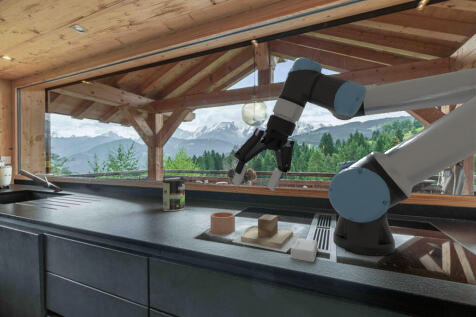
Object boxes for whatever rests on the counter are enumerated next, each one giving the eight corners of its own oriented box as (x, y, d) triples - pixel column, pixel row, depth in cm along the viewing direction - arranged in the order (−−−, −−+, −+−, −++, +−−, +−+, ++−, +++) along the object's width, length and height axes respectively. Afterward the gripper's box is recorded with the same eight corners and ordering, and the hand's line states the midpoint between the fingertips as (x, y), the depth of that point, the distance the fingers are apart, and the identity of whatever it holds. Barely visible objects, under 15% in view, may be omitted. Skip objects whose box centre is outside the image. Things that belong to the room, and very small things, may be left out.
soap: (314, 265, 54) (314, 252, 54) (290, 260, 56) (290, 248, 56) (317, 250, 62) (317, 239, 62) (296, 247, 64) (296, 236, 64)
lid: (293, 235, 72) (293, 215, 72) (281, 248, 62) (281, 224, 62) (257, 229, 78) (257, 211, 78) (241, 240, 68) (241, 219, 68)
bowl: (239, 229, 79) (239, 213, 79) (226, 236, 72) (226, 218, 72) (219, 226, 83) (219, 211, 83) (205, 232, 76) (205, 215, 76)
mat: (301, 235, 73) (301, 234, 73) (286, 253, 59) (286, 252, 59) (254, 228, 81) (254, 227, 81) (231, 243, 67) (231, 241, 67)
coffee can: (188, 207, 116) (188, 179, 116) (179, 212, 106) (179, 181, 106) (169, 206, 118) (169, 178, 118) (158, 211, 108) (158, 180, 108)
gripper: (302, 125, 73) (275, 184, 78) (241, 100, 58) (212, 175, 63) (321, 133, 68) (290, 196, 73) (258, 107, 53) (224, 189, 58)
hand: (253, 186), depth 68 cm, fingers open, 13 cm apart
